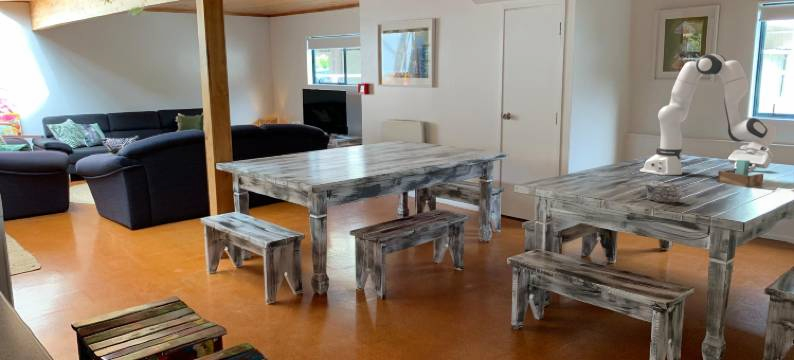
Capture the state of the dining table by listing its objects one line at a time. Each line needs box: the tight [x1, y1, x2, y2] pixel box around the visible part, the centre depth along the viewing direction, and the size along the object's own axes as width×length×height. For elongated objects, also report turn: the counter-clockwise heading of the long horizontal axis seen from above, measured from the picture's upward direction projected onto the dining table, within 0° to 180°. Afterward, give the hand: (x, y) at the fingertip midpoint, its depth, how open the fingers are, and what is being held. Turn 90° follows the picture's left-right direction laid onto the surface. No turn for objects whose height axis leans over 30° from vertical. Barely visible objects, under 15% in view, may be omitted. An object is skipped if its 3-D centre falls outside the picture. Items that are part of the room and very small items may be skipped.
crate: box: [717, 168, 764, 188], centre depth 321 cm, size 12×16×6 cm
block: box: [735, 160, 750, 176], centre depth 321 cm, size 4×4×12 cm
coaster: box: [755, 184, 778, 193], centre depth 311 cm, size 8×9×1 cm
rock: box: [644, 181, 682, 204], centre depth 284 cm, size 16×8×10 cm, turn 49°
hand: (741, 170), depth 321 cm, fingers open, 5 cm apart
